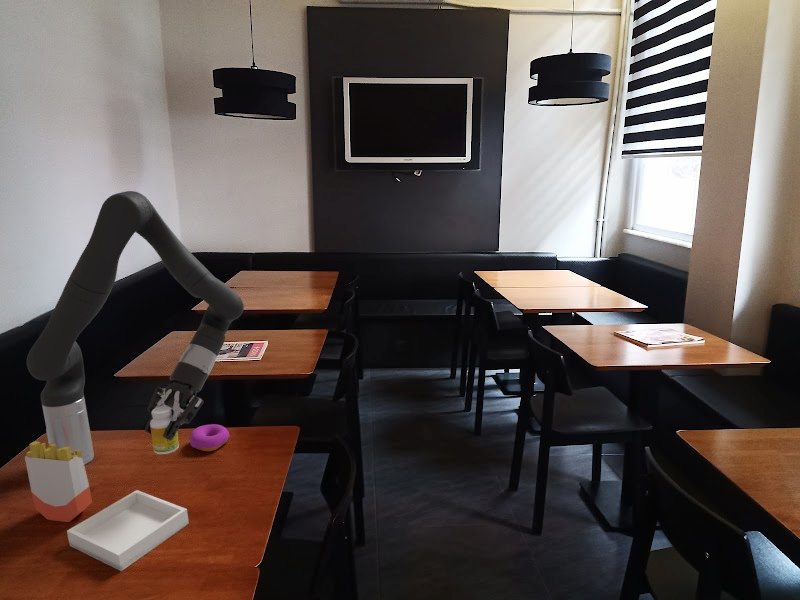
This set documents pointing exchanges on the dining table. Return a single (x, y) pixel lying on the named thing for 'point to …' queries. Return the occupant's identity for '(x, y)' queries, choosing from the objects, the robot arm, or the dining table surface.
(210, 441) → the donut
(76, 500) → the french fries container
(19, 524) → the dining table surface
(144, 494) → the tray
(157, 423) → the supplement bottle
